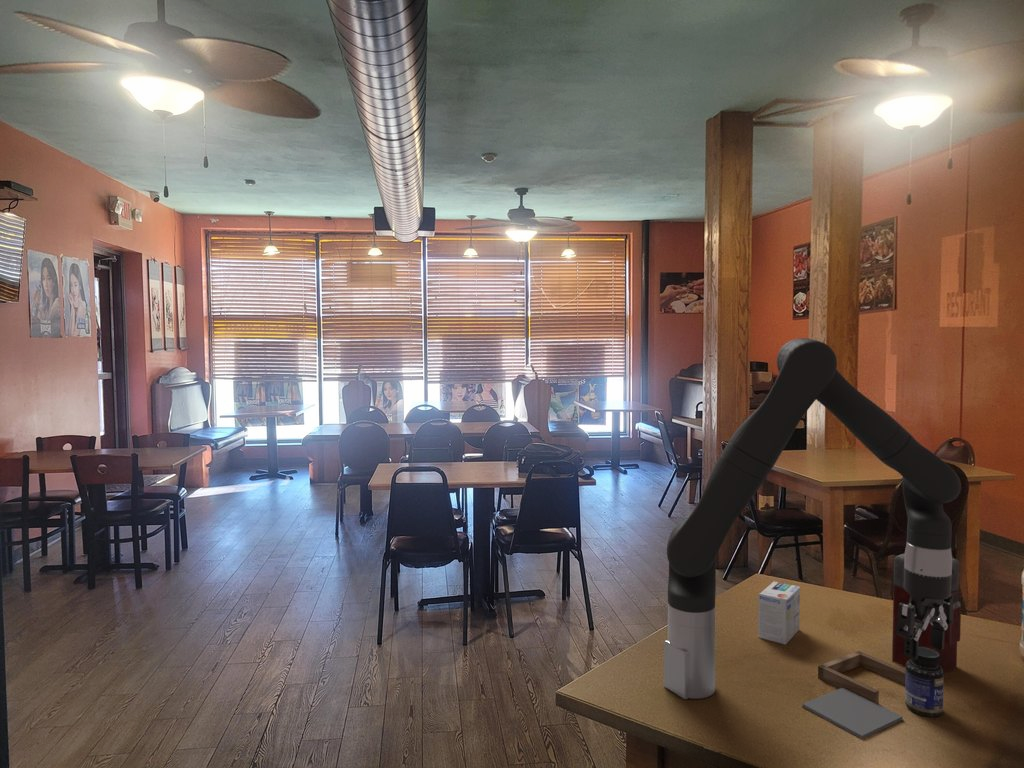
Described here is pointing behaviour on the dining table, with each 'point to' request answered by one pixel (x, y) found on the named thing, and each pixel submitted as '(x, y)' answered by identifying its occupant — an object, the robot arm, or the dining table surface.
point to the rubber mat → (852, 712)
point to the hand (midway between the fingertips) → (924, 652)
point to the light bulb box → (779, 612)
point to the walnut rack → (836, 667)
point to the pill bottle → (924, 683)
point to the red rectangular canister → (951, 634)
